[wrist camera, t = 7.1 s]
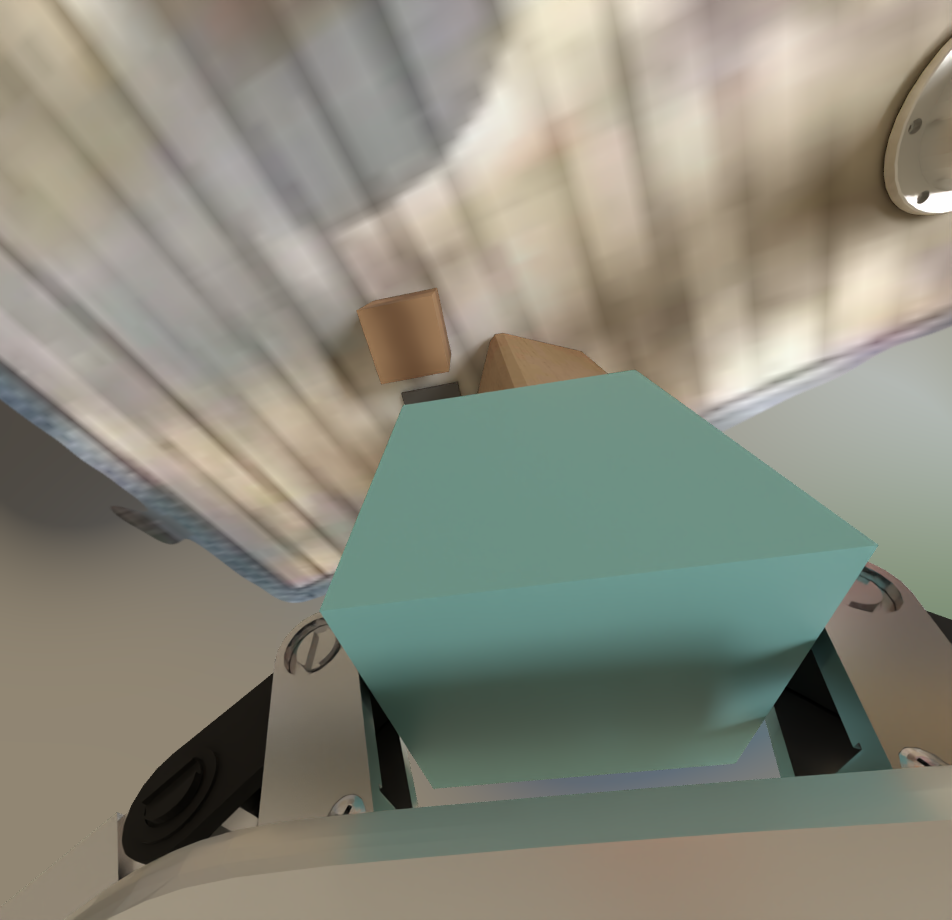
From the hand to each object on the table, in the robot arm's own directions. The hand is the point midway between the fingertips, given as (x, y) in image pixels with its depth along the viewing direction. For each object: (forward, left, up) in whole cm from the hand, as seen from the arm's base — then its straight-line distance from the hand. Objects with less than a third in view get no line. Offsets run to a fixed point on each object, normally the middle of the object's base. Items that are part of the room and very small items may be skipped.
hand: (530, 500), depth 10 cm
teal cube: (0, 0, -1) cm, 1 cm away
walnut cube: (+7, -1, -27) cm, 28 cm away
